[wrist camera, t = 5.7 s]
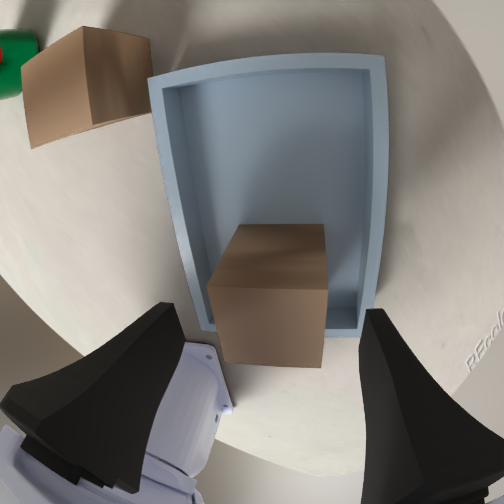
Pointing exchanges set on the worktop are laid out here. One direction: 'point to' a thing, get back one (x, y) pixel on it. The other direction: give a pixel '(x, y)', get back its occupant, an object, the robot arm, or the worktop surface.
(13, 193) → the worktop surface
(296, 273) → the walnut block
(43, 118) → the walnut block
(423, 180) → the worktop surface
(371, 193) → the tray
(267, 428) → the worktop surface
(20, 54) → the soda can
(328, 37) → the worktop surface
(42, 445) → the robot arm
